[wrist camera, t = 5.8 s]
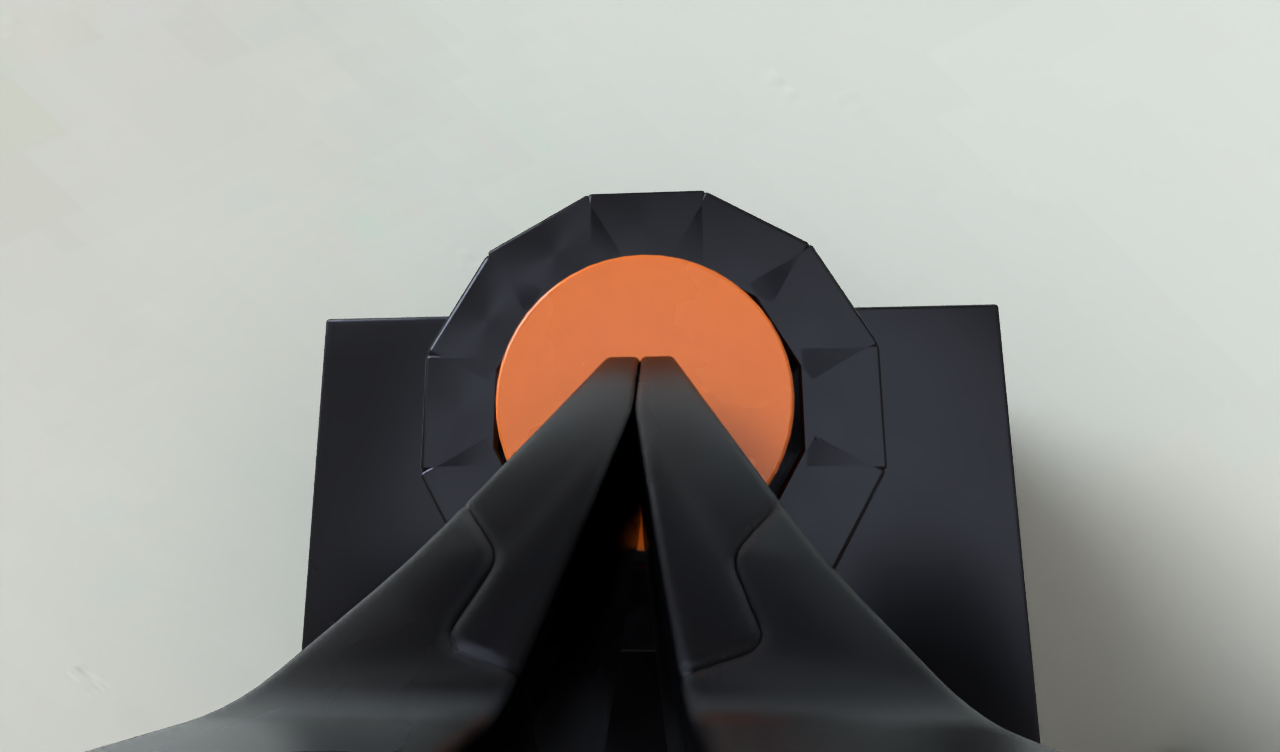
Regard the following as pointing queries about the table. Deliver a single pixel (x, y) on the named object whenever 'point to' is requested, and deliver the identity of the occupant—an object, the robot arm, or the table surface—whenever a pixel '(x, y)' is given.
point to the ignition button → (652, 349)
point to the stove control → (804, 484)
